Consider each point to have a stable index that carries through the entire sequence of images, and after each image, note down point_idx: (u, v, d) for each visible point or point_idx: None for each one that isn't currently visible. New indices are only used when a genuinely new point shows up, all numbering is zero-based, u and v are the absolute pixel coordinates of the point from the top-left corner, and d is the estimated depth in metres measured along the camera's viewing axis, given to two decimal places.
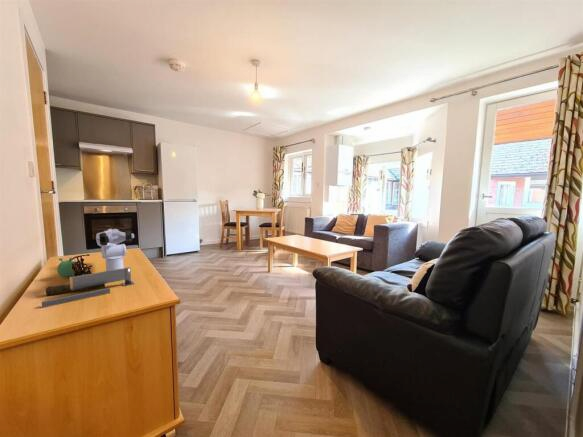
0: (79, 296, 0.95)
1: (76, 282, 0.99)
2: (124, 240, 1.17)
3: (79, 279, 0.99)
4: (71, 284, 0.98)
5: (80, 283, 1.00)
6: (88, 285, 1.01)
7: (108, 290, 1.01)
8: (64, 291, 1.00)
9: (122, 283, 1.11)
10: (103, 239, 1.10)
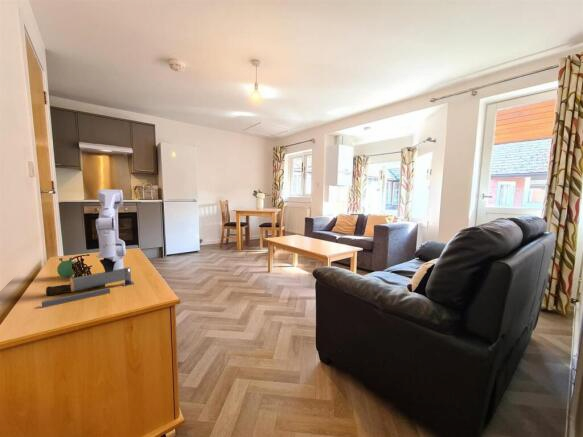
0: (79, 296, 0.95)
1: (77, 283, 0.97)
2: None
3: (80, 281, 0.98)
4: (72, 285, 0.96)
5: (81, 284, 0.98)
6: (89, 286, 1.00)
7: (108, 290, 1.01)
8: (64, 291, 1.00)
9: (122, 283, 1.11)
10: None
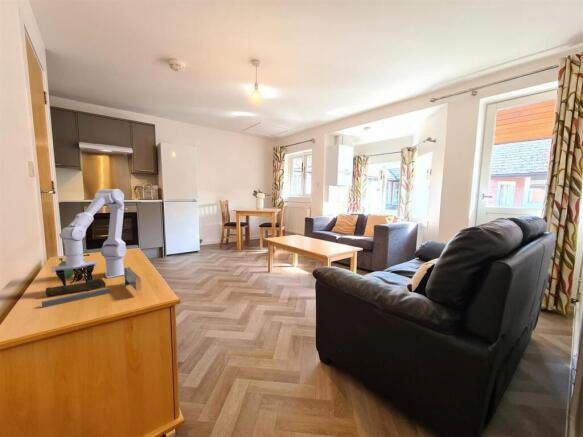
0: (79, 296, 0.95)
1: None
2: None
3: None
4: (140, 284, 0.98)
5: None
6: None
7: (108, 290, 1.01)
8: (64, 292, 0.99)
9: (122, 283, 1.11)
10: None
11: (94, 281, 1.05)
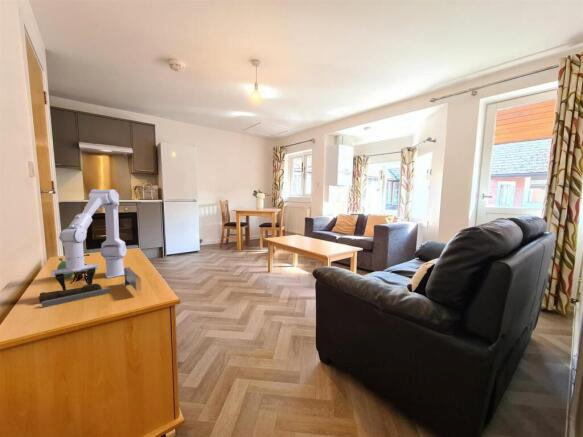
0: (79, 296, 0.95)
1: None
2: None
3: None
4: (140, 284, 0.98)
5: None
6: None
7: (108, 290, 1.01)
8: (59, 297, 0.94)
9: (122, 283, 1.11)
10: None
11: (90, 286, 0.99)
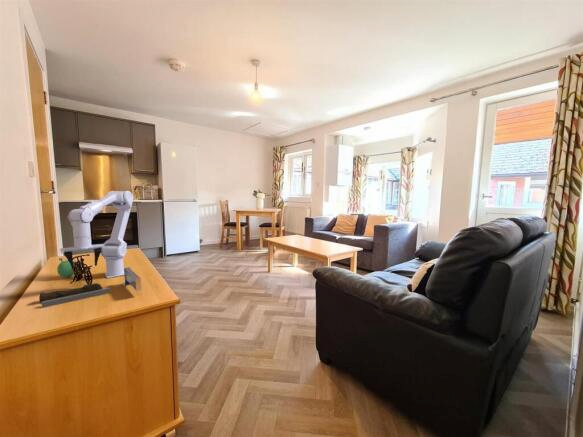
0: (79, 296, 0.95)
1: None
2: None
3: None
4: (140, 284, 0.98)
5: None
6: None
7: (108, 290, 1.01)
8: (59, 297, 0.94)
9: (122, 283, 1.11)
10: None
11: (91, 286, 0.99)
